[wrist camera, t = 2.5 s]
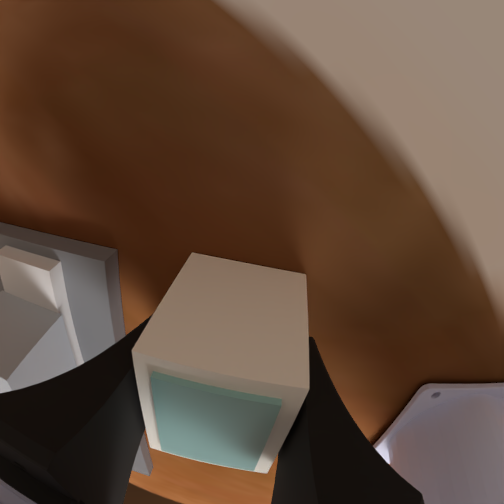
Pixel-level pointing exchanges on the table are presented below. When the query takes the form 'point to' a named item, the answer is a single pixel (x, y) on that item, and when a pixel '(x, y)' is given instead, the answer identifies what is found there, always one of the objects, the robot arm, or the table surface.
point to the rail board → (56, 309)
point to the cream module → (225, 363)
